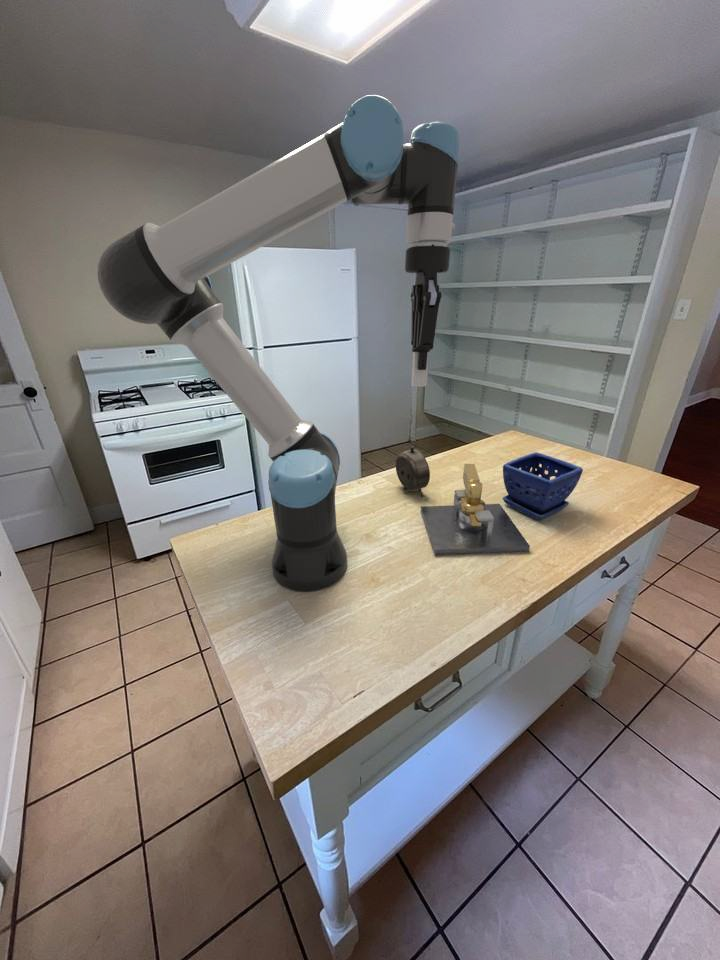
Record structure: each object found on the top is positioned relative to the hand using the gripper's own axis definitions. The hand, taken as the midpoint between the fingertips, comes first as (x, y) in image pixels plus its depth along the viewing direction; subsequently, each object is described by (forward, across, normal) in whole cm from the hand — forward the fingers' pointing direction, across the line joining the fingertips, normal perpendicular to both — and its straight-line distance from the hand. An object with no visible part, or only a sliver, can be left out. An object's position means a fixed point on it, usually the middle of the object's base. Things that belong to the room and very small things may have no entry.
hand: (418, 385), depth 75 cm
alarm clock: (+34, +18, -4) cm, 38 cm away
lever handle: (+28, 0, -14) cm, 31 cm away
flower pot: (+33, +5, -33) cm, 47 cm away
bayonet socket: (+33, -2, -14) cm, 36 cm away
